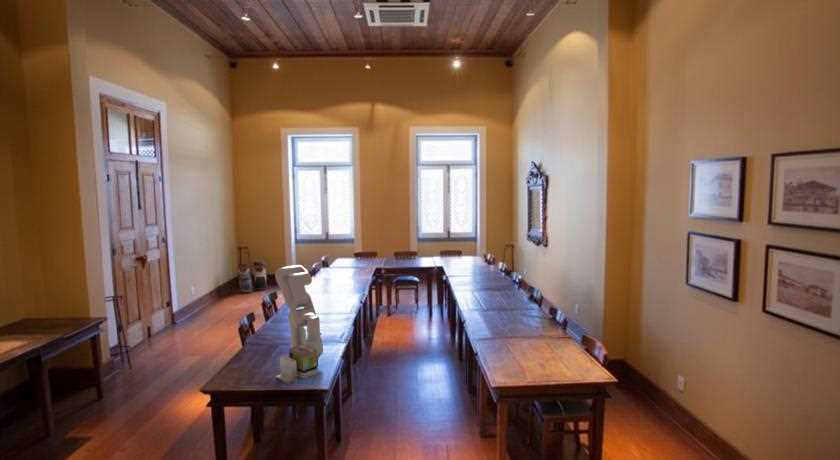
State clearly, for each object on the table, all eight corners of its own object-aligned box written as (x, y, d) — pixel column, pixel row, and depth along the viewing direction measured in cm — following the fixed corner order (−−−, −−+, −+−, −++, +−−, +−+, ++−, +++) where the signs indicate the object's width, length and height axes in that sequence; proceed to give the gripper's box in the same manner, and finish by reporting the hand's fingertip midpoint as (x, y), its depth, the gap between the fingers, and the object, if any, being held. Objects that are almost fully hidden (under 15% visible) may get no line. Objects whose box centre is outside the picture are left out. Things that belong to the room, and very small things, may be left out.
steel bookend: (276, 378, 264) (275, 358, 262) (285, 375, 268) (284, 355, 267) (287, 384, 256) (286, 363, 255) (297, 380, 260) (296, 360, 259)
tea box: (318, 373, 269) (317, 349, 267) (303, 379, 262) (301, 354, 260) (304, 367, 279) (303, 343, 278) (289, 372, 272) (288, 348, 270)
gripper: (320, 332, 282) (321, 360, 284) (299, 338, 271) (301, 368, 273) (327, 334, 277) (329, 363, 280) (307, 341, 266) (308, 371, 268)
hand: (315, 366), depth 276 cm, fingers closed
